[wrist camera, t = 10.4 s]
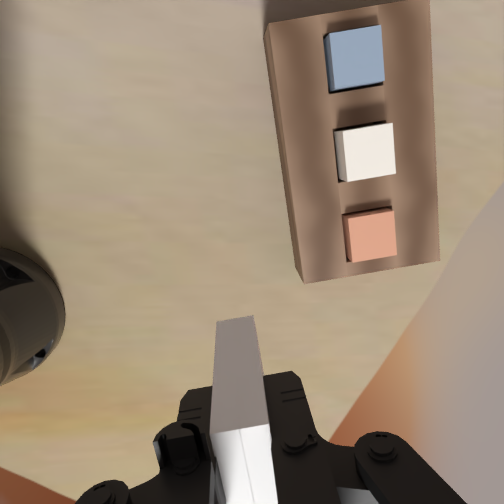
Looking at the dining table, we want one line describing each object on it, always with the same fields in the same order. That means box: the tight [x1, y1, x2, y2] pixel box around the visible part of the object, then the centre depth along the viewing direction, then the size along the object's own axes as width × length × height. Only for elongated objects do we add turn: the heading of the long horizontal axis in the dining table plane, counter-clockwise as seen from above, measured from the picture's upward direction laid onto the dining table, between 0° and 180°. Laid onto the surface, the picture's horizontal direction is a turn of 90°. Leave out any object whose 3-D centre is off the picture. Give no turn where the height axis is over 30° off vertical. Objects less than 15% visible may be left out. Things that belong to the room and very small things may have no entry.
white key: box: [334, 123, 396, 182], centre depth 38 cm, size 4×4×3 cm
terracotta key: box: [341, 207, 397, 263], centre depth 41 cm, size 4×4×3 cm
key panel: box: [263, 0, 440, 284], centre depth 41 cm, size 14×24×6 cm, turn 9°
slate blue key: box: [323, 25, 385, 92], centre depth 37 cm, size 4×4×3 cm
